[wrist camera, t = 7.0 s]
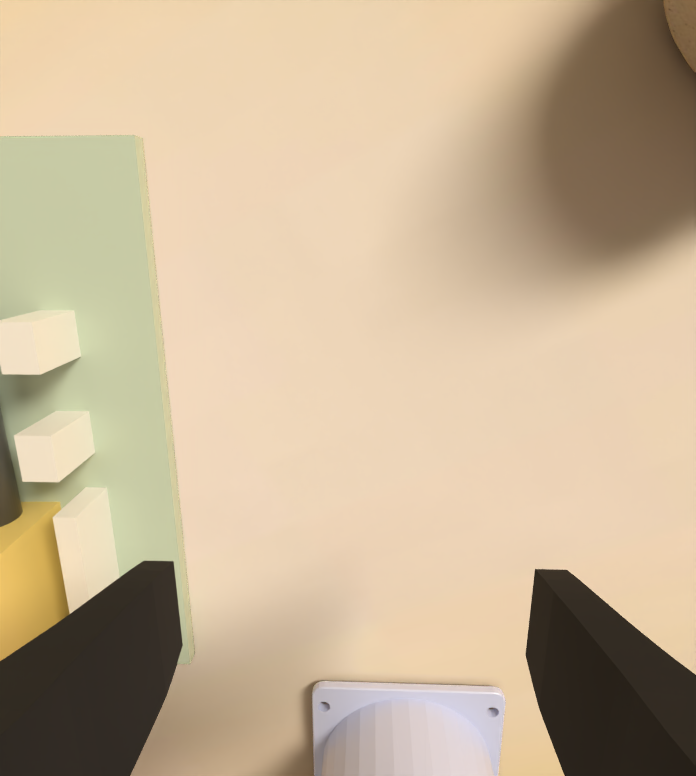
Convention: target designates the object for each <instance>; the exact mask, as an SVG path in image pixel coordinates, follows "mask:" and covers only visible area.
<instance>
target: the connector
mask: <svg viewBox="0 0 696 776" xmlns="http://www.w3.org/2000/svg"><path fill="white" fill-rule="evenodd" d="M60 510H61V505H60V502H21V501H20V496H19V491H18V487H17V482H16V477H15V473H14V468H13V463H12V459H11V454H10V449H9V445H8V440H7V436H6V431H5V426H4V422H3V417H2V412H1V408H0V661H1V660H3V659H4V658H6V657H7V656H9V655H10V654H12V653H13V652H15V651H16V650H18V649H19V648H21V647H22V646H24V645H25V644H27V643H28V642H30V641H31V640H33V639H34V638H36V637H37V636H39V635H40V634H42V633H43V632H45V631H46V630H48V629H49V628H51V627H52V626H54V625H55V624H56V623H58V622H59V621H61V620H62V619H63V618H65V617H66V616H68V615H69V614H70V613H69V607H68V602H67V596H66V591H65V585H64V579H63V574H62V568H61V562H60V557H59V551H58V546H57V540H56V534H55V529H54V523H53V517H54V516H55V515H56V514H57V513H58V512H59V511H60Z"/></svg>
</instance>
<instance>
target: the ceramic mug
mask: <svg viewBox="0 0 696 776" xmlns="http://www.w3.org/2000/svg"><path fill="white" fill-rule="evenodd" d="M663 3H664V9H665V14H666V19H667V22H668V25H669V28H670V32H671V35H672V37H673V39H674V41H675V43H676V45H677V47H678V48H679V50H680V52H681V53H682V55H683V57H684V58H685V60H686V62H687V63H688V65H689V66H690V67H691V68H692V69H693V71H694V72H695V73H696V0H663Z"/></svg>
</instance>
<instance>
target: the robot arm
mask: <svg viewBox="0 0 696 776" xmlns="http://www.w3.org/2000/svg"><path fill="white" fill-rule="evenodd" d="M182 646H183V643H182V634H181V624H180V615H179V606H178V597H177V588H176V579H175V569H174V561H143V562H141V563H140V564H138V565H136V566H135V567H134V568H132V569H131V570H129V571H128V572H126V573H125V574H124V575H122V576H121V577H120V578H118V579H117V580H115V581H114V582H113V583H111V584H110V585H109V586H107V587H106V588H105V589H103V590H102V591H101V592H99V593H98V594H97V595H95V596H94V597H92V598H91V599H90V600H88V601H87V602H86V603H84V604H83V605H81V606H80V607H79V608H77V609H76V610H75V611H73V612H72V613H70V614H69V615H68V616H66V617H65V618H63V619H62V620H61V621H59V622H58V623H56V624H55V625H54V626H52V627H51V628H49V629H48V630H46V631H45V632H43V633H42V634H40V635H39V636H37V637H36V638H34V639H33V640H31V641H30V642H28V643H27V644H25V645H24V646H22V647H21V648H19V649H18V650H16V651H15V652H13V653H12V654H10V655H9V656H7V657H6V658H4V659H3V660H1V661H0V776H130V775H131V772H132V770H133V768H134V766H135V764H136V762H137V760H138V757H139V755H140V753H141V751H142V749H143V747H144V744H145V742H146V740H147V738H148V736H149V734H150V731H151V729H152V727H153V725H154V723H155V720H156V718H157V716H158V714H159V712H160V709H161V707H162V705H163V703H164V700H165V698H166V696H167V693H168V690H169V687H170V684H171V681H172V678H173V675H174V672H175V669H176V665H177V662H178V659H179V656H180V652H181V649H182ZM526 658H527V662H528V666H529V671H530V675H531V679H532V683H533V687H534V691H535V694H536V698H537V702H538V706H539V709H540V712H541V714H542V717H543V720H544V723H545V725H546V728H547V730H548V733H549V736H550V738H551V741H552V744H553V746H554V749H555V752H556V754H557V757H558V759H559V762H560V765H561V767H562V770H563V772H564V775H565V776H696V675H695V674H694V673H692V672H691V671H690V670H688V669H687V668H686V667H684V666H683V665H682V664H680V663H679V662H678V661H676V660H675V659H674V658H673V657H671V656H670V655H669V654H667V653H666V652H665V651H664V650H662V649H661V648H660V647H659V646H657V645H656V644H655V643H654V642H652V641H651V640H650V639H649V638H647V637H646V636H645V635H644V634H642V633H641V632H640V631H639V630H638V629H636V628H635V627H634V626H633V625H632V624H630V623H629V622H628V621H627V620H626V619H624V618H623V617H622V616H621V615H620V614H618V613H617V612H616V611H615V610H614V609H613V608H611V607H610V606H609V605H608V604H607V603H606V602H604V601H603V600H602V599H601V598H600V597H599V596H597V595H596V594H595V593H594V592H593V591H592V590H590V589H589V588H588V587H587V586H586V585H585V584H583V583H582V582H581V581H580V580H579V579H578V578H576V577H575V576H574V575H573V574H571V573H570V572H569V571H568V570H546V569H535V575H534V585H533V594H532V603H531V612H530V621H529V630H528V639H527V648H526ZM321 702H327V704H323V703H321ZM492 707H494V709H489V708H492ZM504 712H505V697H504V694H503V692H502V690H501V689H499V688H498V687H494V686H468V685H436V684H404V683H372V682H340V681H321V682H318V683H316V684H315V685H314V686H313V691H312V719H313V755H314V776H498V772H499V762H500V752H501V742H502V732H503V722H504Z"/></svg>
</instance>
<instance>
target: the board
mask: <svg viewBox="0 0 696 776" xmlns="http://www.w3.org/2000/svg"><path fill="white" fill-rule="evenodd" d="M0 408H1V412H2V417H3V422H4V426H5V431H6V436H7V440H8V445H9V449H10V454H11V459H12V463H13V468H14V473H15V477H16V482H17V487H18V491H19V496H20V501H21V502H60V505H61V510H60V511H59V512H58V513H57V514H56V515H55V516H54V517H53V523H54V529H55V534H56V540H57V546H58V551H59V557H60V562H61V568H62V574H63V579H64V585H65V591H66V596H67V602H68V607H69V613H72V612H73V611H75V610H76V609H77V608H79V607H80V606H81V605H83V604H84V603H86V602H87V601H88V600H90V599H91V598H92V597H94V596H95V595H97V594H98V593H99V592H101V591H102V590H103V589H105V588H106V587H107V586H109V585H110V584H111V583H113V582H114V581H115V580H117V579H118V578H120V577H121V576H122V575H124V574H125V573H126V572H128V571H129V570H131V569H132V568H134V567H135V566H136V565H138V564H140V563H141V562H143V561H174V569H175V579H176V588H177V597H178V606H179V615H180V624H181V634H182V643H183V646H182V649H181V652H180V656H179V659H178V662H177V664H191V661H192V659H193V656H194V654H195V651H194V641H193V631H192V621H191V611H190V602H189V592H188V582H187V572H186V562H185V552H184V543H183V533H182V523H181V513H180V503H179V494H178V484H177V474H176V464H175V454H174V444H173V435H172V425H171V415H170V405H169V395H168V386H167V376H166V366H165V356H164V346H163V337H162V327H161V317H160V307H159V297H158V287H157V278H156V268H155V258H154V248H153V238H152V229H151V219H150V209H149V199H148V189H147V179H146V170H145V160H144V150H143V140H142V138H140V137H138V136H135V135H98V136H0Z"/></svg>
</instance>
